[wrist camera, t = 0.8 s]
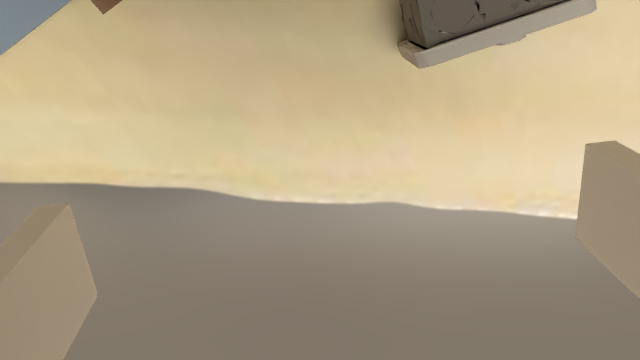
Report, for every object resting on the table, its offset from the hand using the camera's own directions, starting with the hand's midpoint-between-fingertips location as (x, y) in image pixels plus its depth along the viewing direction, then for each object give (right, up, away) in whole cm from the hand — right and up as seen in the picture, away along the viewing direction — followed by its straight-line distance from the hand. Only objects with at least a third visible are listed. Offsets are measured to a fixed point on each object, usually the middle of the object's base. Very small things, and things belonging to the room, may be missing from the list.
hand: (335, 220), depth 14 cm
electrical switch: (+8, +13, +21) cm, 26 cm away
